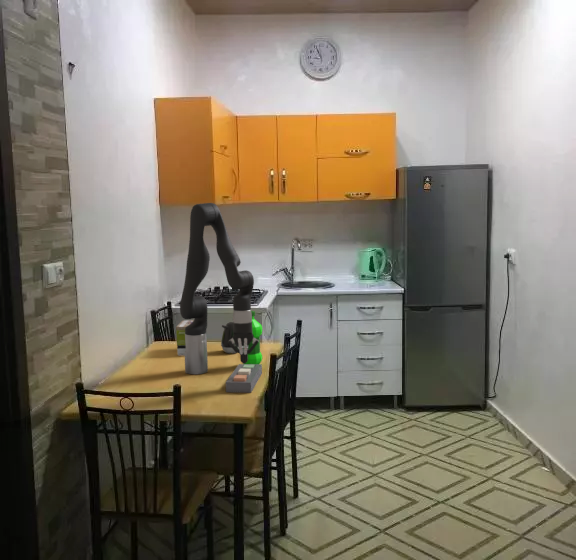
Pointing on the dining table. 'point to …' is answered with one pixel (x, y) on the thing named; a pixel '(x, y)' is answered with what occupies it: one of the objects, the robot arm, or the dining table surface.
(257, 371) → the button panel
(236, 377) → the terracotta button
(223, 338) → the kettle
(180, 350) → the tea box
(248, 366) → the green button
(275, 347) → the dining table surface
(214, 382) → the dining table surface
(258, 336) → the plastic bottle
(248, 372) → the cream button
